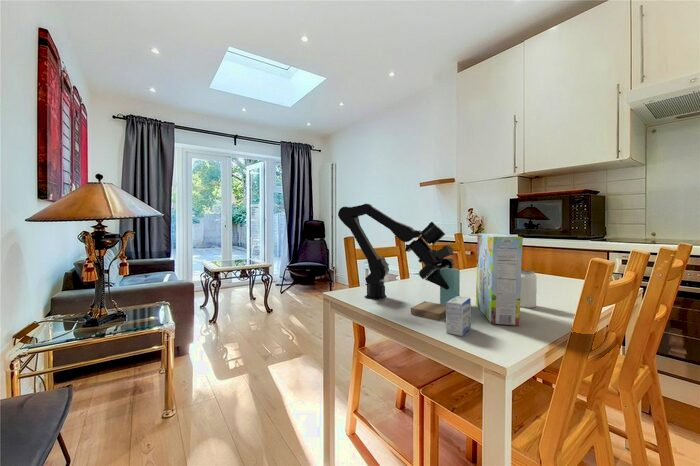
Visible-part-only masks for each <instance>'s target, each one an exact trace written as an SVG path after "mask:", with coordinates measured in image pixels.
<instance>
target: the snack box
mask: <svg viewBox="0 0 700 466" xmlns="http://www.w3.org/2000/svg"><path fill="white" fill-rule="evenodd" d="M523 239H524V237H523V236H517V235H516V236H515V235H512V234H502V233H501V234H500V233H477V242H476V243H477V248H476V286H475V287H476V288H475V289H476V292H475V293H476V295H475V305H476V306H477V307H478V309H479V310H480V311H481V313H482V314H483V315H484V317H486V318H487V320H488V322H490V324H492V325H503V326H518V327H519V326H520V319H521V317H520V316H521V307H520V295H521V270H522V258H523V257H522V256H523V241H524V240H523Z"/></svg>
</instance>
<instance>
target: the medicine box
mask: <svg viewBox="0 0 700 466" xmlns="http://www.w3.org/2000/svg"><path fill="white" fill-rule="evenodd" d="M471 302H472V301H471V298H470V297H466V296H455V297H454V298H452V299H451V300H449V301H448V302H446V317H445V326H446V327H445V329H446V331H445V332H446V333H447V334H450V335H454V336H455V335H456V336H460V337H463V336H464V335H465V334H466V333H467V332H468V331H469V330H470V329H471V326H472V324H471V323H472V322H471V321H472V318H471V317H472V315H471V314H472V313H471V312H472V311H471V305H472V303H471Z"/></svg>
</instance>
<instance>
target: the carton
mask: <svg viewBox="0 0 700 466" xmlns="http://www.w3.org/2000/svg"><path fill="white" fill-rule="evenodd" d="M460 273H461V272H460V268H459V269H458V268H453V269H450V268H445V269H442V270H440V274H441V276H442V277H443V279H444V280H445V281H446V283H447V284H448V286H449V289H448V290H446V289H444V288H442V287H440V286H439V304H443V305H446V302H448V301H449V300H451V299H452V298H454V297H455V296H460V294H461V293H460V291H461V290H460V281H461V280H460V275H461V274H460ZM460 297H461V296H460Z"/></svg>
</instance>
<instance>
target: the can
mask: <svg viewBox="0 0 700 466" xmlns="http://www.w3.org/2000/svg"><path fill="white" fill-rule="evenodd" d="M537 281H538V279H537V275H536V272H535V271H532V270H525V269H524V270H522V269H521V295H520V308H524V309H534V308H535V307H537V283H538V282H537Z"/></svg>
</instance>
